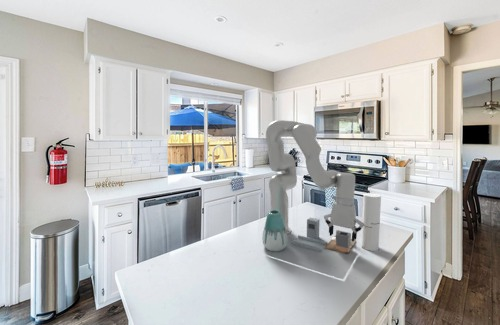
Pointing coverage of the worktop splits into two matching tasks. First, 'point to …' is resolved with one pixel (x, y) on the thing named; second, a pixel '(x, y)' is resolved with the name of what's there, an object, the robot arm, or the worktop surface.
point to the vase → (274, 232)
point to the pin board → (332, 244)
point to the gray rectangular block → (313, 228)
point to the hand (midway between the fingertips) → (342, 237)
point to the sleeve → (343, 241)
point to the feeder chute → (310, 243)
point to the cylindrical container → (371, 221)
